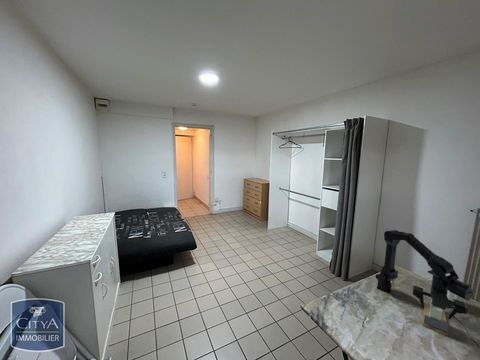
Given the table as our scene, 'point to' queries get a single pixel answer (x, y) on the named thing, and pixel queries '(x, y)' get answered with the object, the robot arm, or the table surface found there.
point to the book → (435, 312)
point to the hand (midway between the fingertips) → (435, 313)
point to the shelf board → (426, 312)
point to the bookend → (435, 323)
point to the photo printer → (451, 296)
